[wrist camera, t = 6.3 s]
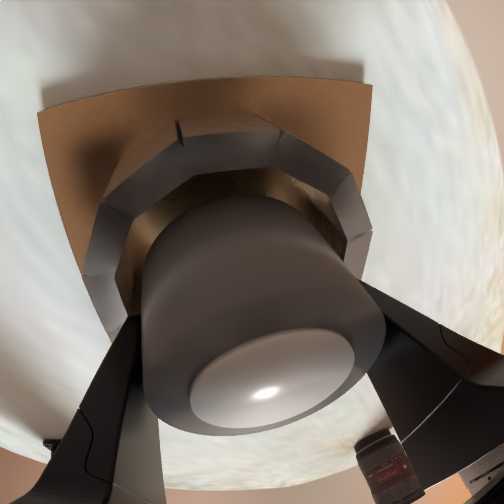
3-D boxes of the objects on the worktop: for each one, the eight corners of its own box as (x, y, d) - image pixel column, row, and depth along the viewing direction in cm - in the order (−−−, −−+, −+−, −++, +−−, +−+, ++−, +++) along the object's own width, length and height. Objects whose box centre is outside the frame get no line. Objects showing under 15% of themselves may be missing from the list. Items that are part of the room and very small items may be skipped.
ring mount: (118, 346, 15) (117, 400, 12) (43, 110, 8) (-2, 131, 5) (331, 306, 17) (358, 350, 14) (363, 83, 10) (422, 97, 8)
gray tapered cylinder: (163, 352, 11) (176, 452, 8) (122, 211, 8) (101, 330, 4) (310, 323, 12) (355, 407, 9) (331, 184, 9) (422, 267, 6)
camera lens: (369, 432, 39) (406, 507, 27) (399, 422, 42) (435, 487, 30) (341, 453, 42) (372, 521, 30) (372, 443, 46) (403, 504, 34)
